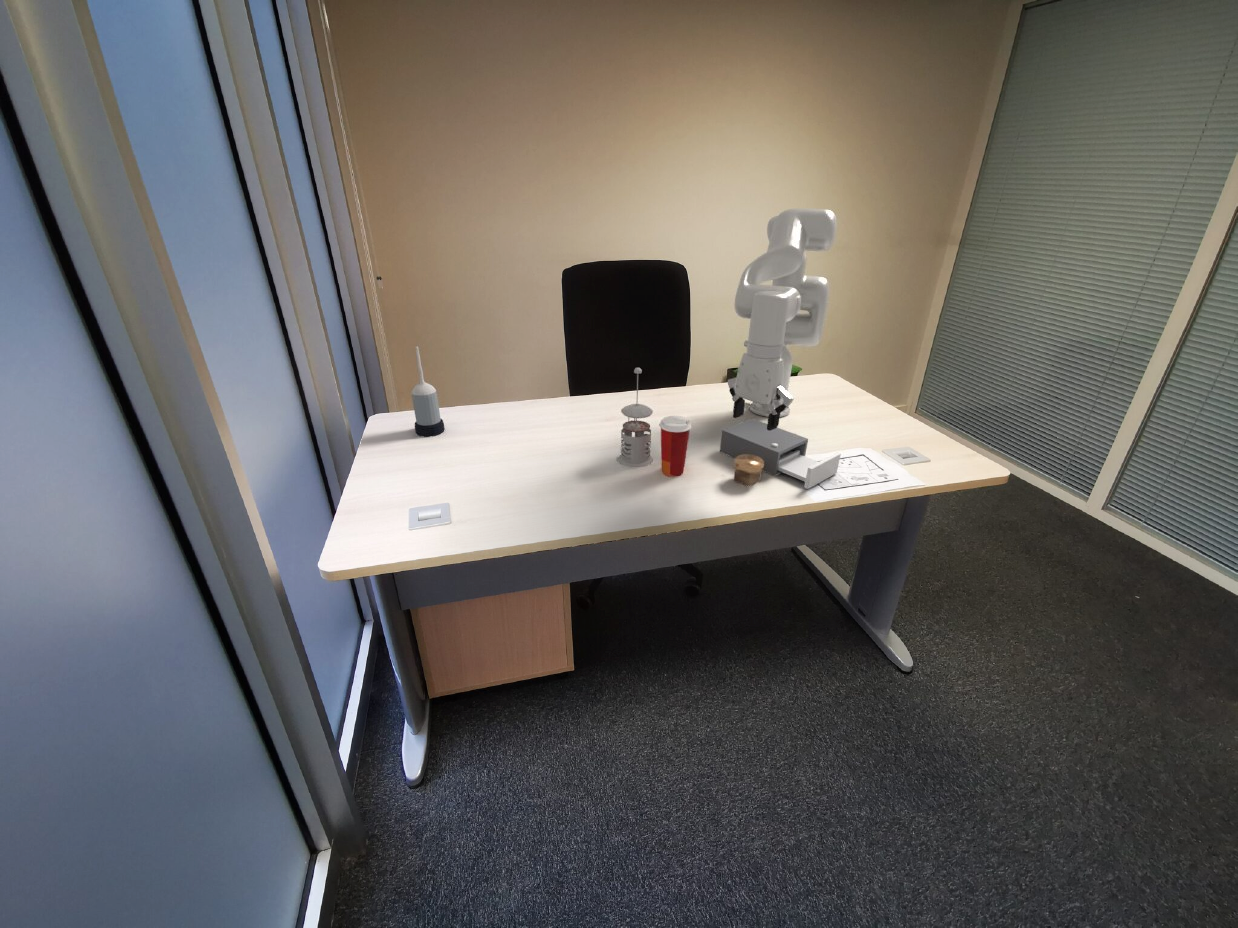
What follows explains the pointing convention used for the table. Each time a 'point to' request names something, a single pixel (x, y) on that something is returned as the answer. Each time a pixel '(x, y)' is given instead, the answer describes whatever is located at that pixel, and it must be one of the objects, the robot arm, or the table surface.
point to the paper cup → (674, 444)
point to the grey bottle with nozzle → (426, 407)
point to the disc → (749, 464)
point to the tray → (808, 467)
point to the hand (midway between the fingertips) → (754, 422)
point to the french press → (636, 435)
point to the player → (761, 443)
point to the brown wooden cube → (746, 478)
